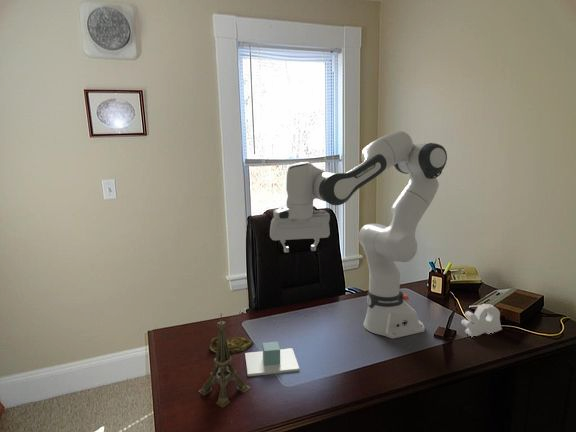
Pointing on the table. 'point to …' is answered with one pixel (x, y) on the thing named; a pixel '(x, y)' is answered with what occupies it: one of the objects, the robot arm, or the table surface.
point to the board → (258, 368)
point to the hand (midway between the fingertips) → (299, 251)
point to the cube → (271, 353)
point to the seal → (233, 344)
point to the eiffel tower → (223, 370)
